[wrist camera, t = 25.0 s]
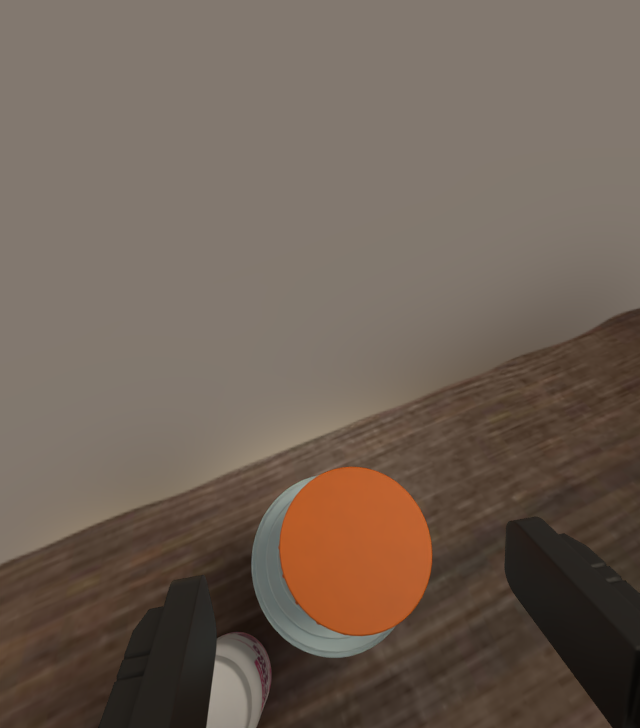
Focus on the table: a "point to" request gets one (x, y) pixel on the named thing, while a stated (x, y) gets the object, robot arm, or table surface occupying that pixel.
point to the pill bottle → (238, 682)
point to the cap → (355, 551)
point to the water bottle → (280, 600)
